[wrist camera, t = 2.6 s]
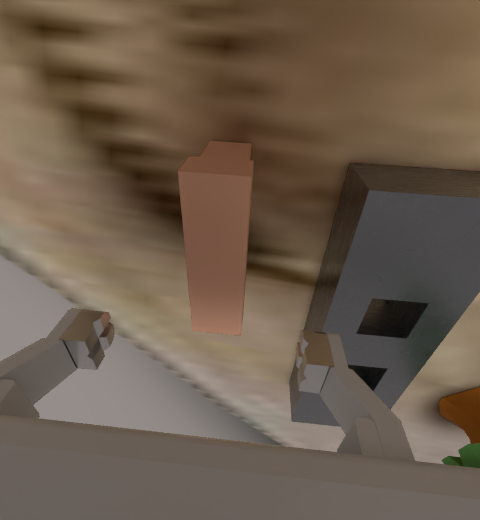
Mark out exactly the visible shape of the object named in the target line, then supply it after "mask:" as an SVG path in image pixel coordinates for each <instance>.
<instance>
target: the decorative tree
mask: <svg viewBox="0 0 480 520" xmlns="http://www.w3.org/2000/svg"><path fill="white" fill-rule="evenodd" d="M439 409H440V415H442V416H443V417H445V418H446V419H448V420H449V421H451V422H452V423H454V424H455V425H457V426H458V427H460V428H462V429H463V430H464V431H465V433H466V434H467V436H468V437H469V439H470V442H471V444H468V445H466V446H465V447H463V448H461V449H459V450H458V451H459V454H460V457H461V458H460V457H453V456H448V457H446V458H444V459H443V460H442V462H443V463H444V464H446V465H455V466H463V467H472V468H480V387H478V388H475V389H471V390H468V391H464V392H461V393H457V394H454V395H450V396H447V397H443V398H442V399H441V400H440V402H439Z"/></svg>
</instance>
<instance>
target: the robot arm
mask: <svg viewBox="0 0 480 520" xmlns="http://www.w3.org/2000/svg"><path fill="white" fill-rule="evenodd" d="M110 318H111V317H110V315H109V313H108V312H102V311H94V310H86V309H76V308H72V309H70V310H68V311H67V313H66V314H65V315H64V317H63V318H62V319H61V320H60V321H59V323H58V324H57V325H56V327H55V328H54V329H53V330H52V331H51V333H50V334H49V335H48V336H47V338H42V339H40V340H38V341H36V342H35V343H33V344H31V345H29V346H28V347H26V348H24V349H22V350H20V351H19V352H17V353H15V354H13V355H11V356H10V357H8V358H6V359H4V360H2V361H1V362H0V520H480V468H472V467H463V466H455V465H446V464H437V463H428V462H419V461H415V459H414V456H413V454H412V451H411V448H410V445H409V442H408V440H407V437H406V434H405V431H404V429H403V426H402V423H401V421H400V420H399V419H398V418H397V416H396V415H395V414H394V413H393V412H392V411H391V410H390V409H389V408H388V407H387V406H386V405H385V404H384V403H383V401H382V400H381V399H380V398H379V397H378V396H377V395H376V394H375V393H374V392H373V391H372V390H371V389H370V388H369V387H368V385H367V384H366V383H365V382H364V381H363V380H362V379H361V378H360V377H359V376H358V375H357V374H356V373H355V372H354V370H353V369H349V368H348V364H347V360H346V357H345V353H344V349H343V345H342V341H341V337H340V335H339V334H337V333H325V332H316V331H304V330H302V331H301V332H300V336H299V337H300V342H298V344H297V348H296V366H297V367H298V368H299V371H298V374H297V379H298V389H299V391H303V392H311V393H318V394H320V396H321V398H322V399H323V401H324V402H325V404H326V405H327V407H328V408H329V410H330V411H331V413H332V414H333V416H334V417H335V419H336V420H337V422H338V423H339V425H340V427H341V428H342V430H343V431H344V433H345V434H346V436H345V438H344V439H343V441H342V443H341V444H340V446H339V448H338V449H337V452H330V451H321V450H312V449H303V448H295V447H286V446H277V445H268V444H259V443H251V442H242V441H233V440H224V439H215V438H207V437H198V436H189V435H180V434H171V433H163V432H153V431H145V430H136V429H127V428H118V427H109V426H100V425H92V424H83V423H74V422H65V421H56V420H47V419H39V413H38V411H37V410H36V409H35V407H34V406H33V405H34V404H35V403H36V402H37V401H38V400H40V399H41V398H42V397H43V396H45V395H46V394H47V393H48V392H50V391H51V390H52V389H53V388H54V387H56V386H57V385H58V384H59V383H61V382H62V381H63V380H64V379H66V378H67V377H68V376H69V375H70V374H72V373H73V372H74V371H75V370H77V369H76V368H81V369H93V370H97V369H98V367H99V365H100V363H101V361H102V360H103V358H104V356H105V355H104V350H106V349H107V348H109V347H110V345H111V343H112V341H113V338H114V326H113V325H112V324H111V323H110V322H109V320H110Z"/></svg>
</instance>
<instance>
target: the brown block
mask: <svg viewBox="0 0 480 520" xmlns="http://www.w3.org/2000/svg"><path fill="white" fill-rule="evenodd" d="M250 159H251V143H236V142H221V141H210V142H209V143H208V145H207V147H206V148H205V150H204V151H203V153H202V154H201V156H200V157H192V156H189V157H188V158H187V160H186V161H185V162H184V164H183V165H182V166H181V168H180V169H179V170H178V179H179V190H180V201H181V211H182V222H183V233H184V244H185V254H186V265H187V276H188V287H189V298H190V308H191V319H192V330H193V331H199V332H210V333H220V334H231V335H241V330H242V320H243V309H244V295H245V281H246V266H247V252H248V238H249V224H250V210H251V196H252V182H253V167H254V161H250Z"/></svg>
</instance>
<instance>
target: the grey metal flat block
mask: <svg viewBox="0 0 480 520" xmlns="http://www.w3.org/2000/svg"><path fill="white" fill-rule="evenodd" d="M479 292H480V172H478V171H464V170H449V169H434V168H420V167H405V166H390V165H376V164H361V163H350V165H349V168H348V172H347V176H346V179H345V183H344V187H343V190H342V194H341V197H340V201H339V205H338V208H337V212H336V216H335V219H334V223H333V227H332V230H331V234H330V237H329V241H328V245H327V248H326V252H325V256H324V259H323V263H322V266H321V270H320V274H319V277H318V281H317V285H316V288H315V292H314V295H313V299H312V303H311V306H310V310H309V314H308V317H307V321H306V325H305V328H304V331H316V332H325V333H337V334H339V335H340V337H341V341H342V345H343V349H344V353H345V357H346V360H347V364H348V368H349V369H353V370H354V372H355V373H356V374H357V375H358V376H359V377H360V378H361V379H362V380H363V381H364V382H365V383H366V384H367V385H368V387H369V388H370V389H371V390H372V391H373V392H374V393H375V394H376V395H377V396H378V397H379V398H380V399H381V400H382V401H383V403H384V404H385V405H386V406H387V407H388V408H389V409H391V408H392V406H393V405H394V404H395V403H396V401H397V400H398V399H399V397H400V396H401V395H402V393H403V392H404V391H405V389H406V388H407V387H408V385H409V384H410V383H411V381H412V380H413V379H414V377H415V376H416V375H417V374H418V372H419V371H420V370H421V368H422V367H423V366H424V364H425V363H426V362H427V360H428V359H429V358H430V356H431V355H432V354H433V352H434V351H435V350H436V349H437V347H438V346H439V345H440V343H441V342H442V341H443V339H444V338H445V337H446V335H447V334H448V333H449V331H450V330H451V329H452V327H453V326H454V325H455V324H456V322H457V321H458V320H459V318H460V317H461V316H462V314H463V313H464V312H465V310H466V309H467V308H468V306H469V305H470V304H471V302H472V301H473V300H474V298H475V297H476V296H477V295H478V293H479ZM298 371H299V368H298V367H297V366H296V361H295V364H294V368H293V372H292V375H291V379H290V383H289V384H290V401H291V418H292V421H293V422H302V423H312V424H321V425H330V426H340V425H339V423H338V422H337V420H336V419H335V417H334V416H333V414H332V413H331V411H330V410H329V408H328V407H327V405H326V404H325V402H324V401H323V399H322V398H321V396H320V394H318V393H311V392H303V391H299V389H298V379H297V374H298Z"/></svg>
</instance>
